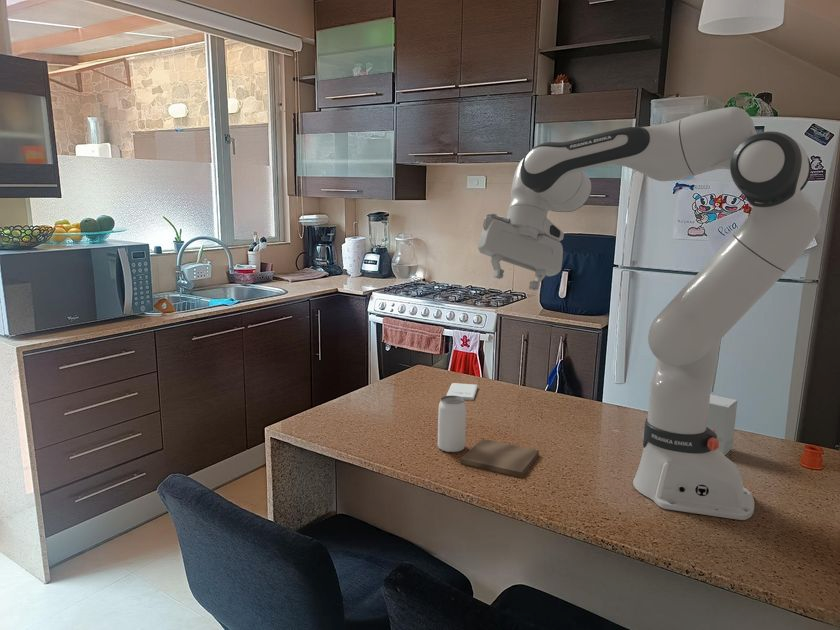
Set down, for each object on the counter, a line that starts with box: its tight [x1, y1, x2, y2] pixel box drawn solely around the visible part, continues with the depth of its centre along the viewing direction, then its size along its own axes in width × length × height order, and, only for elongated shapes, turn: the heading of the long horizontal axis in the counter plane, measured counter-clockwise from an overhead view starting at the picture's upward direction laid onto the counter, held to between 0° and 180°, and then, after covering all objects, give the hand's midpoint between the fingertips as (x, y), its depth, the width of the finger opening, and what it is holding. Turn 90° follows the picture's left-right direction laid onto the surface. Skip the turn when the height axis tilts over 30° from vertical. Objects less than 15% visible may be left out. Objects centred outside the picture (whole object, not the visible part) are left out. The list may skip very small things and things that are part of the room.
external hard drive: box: [445, 382, 479, 401], centre depth 184 cm, size 2×8×12 cm
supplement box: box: [707, 394, 738, 456], centre depth 144 cm, size 7×7×13 cm
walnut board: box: [460, 438, 540, 478], centre depth 138 cm, size 14×13×1 cm
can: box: [437, 395, 467, 453], centre depth 143 cm, size 6×6×12 cm
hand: (516, 283), depth 133 cm, fingers open, 8 cm apart
